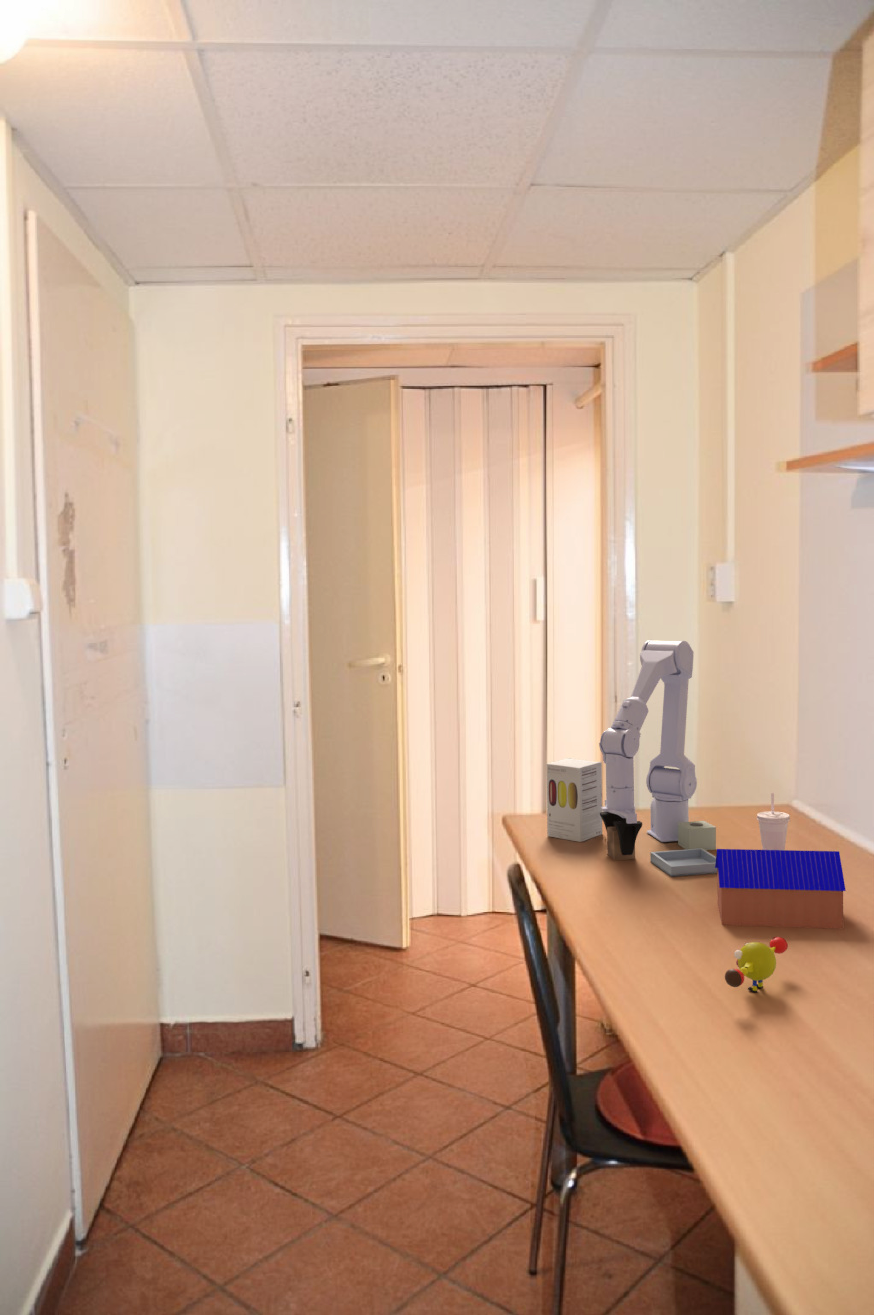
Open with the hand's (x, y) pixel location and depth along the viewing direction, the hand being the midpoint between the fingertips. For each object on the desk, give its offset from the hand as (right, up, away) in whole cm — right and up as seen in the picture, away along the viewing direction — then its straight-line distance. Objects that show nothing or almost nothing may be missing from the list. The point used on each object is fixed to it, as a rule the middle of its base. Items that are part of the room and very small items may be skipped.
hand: (621, 850), depth 223 cm
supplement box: (-7, 0, +19) cm, 20 cm away
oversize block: (+17, -1, +6) cm, 18 cm away
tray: (+12, -2, -9) cm, 15 cm away
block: (0, -2, 0) cm, 2 cm away
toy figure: (+7, -7, -72) cm, 72 cm away
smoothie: (+30, -1, -7) cm, 31 cm away
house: (+20, -4, -40) cm, 45 cm away
